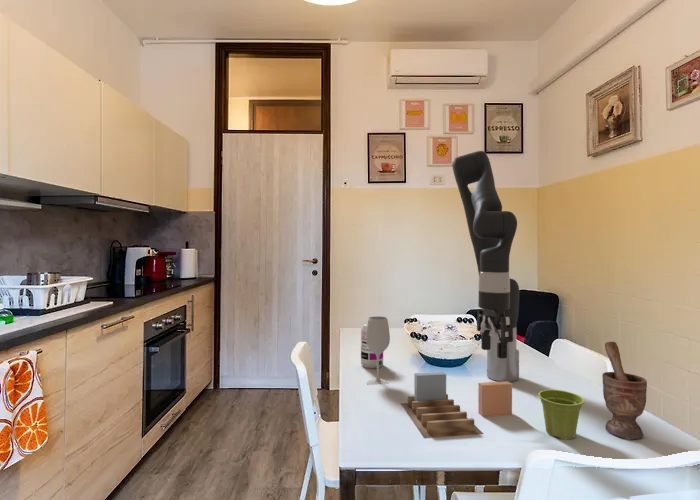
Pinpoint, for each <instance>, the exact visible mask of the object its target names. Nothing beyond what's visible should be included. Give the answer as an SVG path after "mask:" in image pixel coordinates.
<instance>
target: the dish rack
mask: <svg viewBox="0 0 700 500" xmlns="http://www.w3.org/2000/svg"><path fill="white" fill-rule="evenodd" d="M454 401H455V400H454V399H453V398H452V399H451V398H449V394H448V393H446V400H429V401H414V395H407V402H404V403H400V405H401V407H402V408H403V409H404V411H405V412H406V414H407V416H408V417H409V418H410V420H411V421H412V423H413V424H414V425H415V428H416V429H417V430H418V431H419V433H420V434H421V436H422V437H423V439H430V438H431V439H433V438H446V437H459V436H460V437H461V436H462V437H463V436H473V435H484V432H483V431H482V430H480V429H479V428H478V427H477V425H476V424H475V419H474V418H473V417H472V418H471V417H470V418H468V413H467V411H461V405H459V404H456V405H455V402H454Z"/></svg>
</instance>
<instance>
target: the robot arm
mask: <svg viewBox="0 0 700 500" xmlns="http://www.w3.org/2000/svg"><path fill="white" fill-rule="evenodd" d="M451 163H452V164H451V165H452V170H453V175H454V179H455V182H456V185H457V189H458V192H459V195H460V199H461V201H462V206H463V208H464V214H465V218H466V223H467V228H468V233H469V236H470V241H471V245H472V247H473V252H474V257H475V261H476V265H477V271H478V307H479V308H478V309H477V312H476V313H477V315H476V316H477V317H476V319H477V321H476V331H477V332H479V334H480V336H481V342H480V344H481V347H480V348H481V349H482V350H484V351H486V377H487V378H488V379H491V380H494V381H496V382H505V381H508V382H514V381H517V380H520V351H519V349H518V348H517V323H518V318H519V310H520V287H519V284H518V282H517V281H516V279H514V278H510V254H511V249H512V244H513V241H514V238H515V235H516V233H517V228H518V219H517V217H516V215H515V214H514V213H513V212H511V211H507V210H503V205H502V202H501V199H500V197H499V194H498V192H497V190H496V183H495V178H494V174H493V170H492V165H491V161H490V159H489V156H488V154H487V153H486V152H485V151H484V150H478V151H474V152H470V153H466V154H463V155H460V156H457V157H454V158H452V162H451ZM475 183H476V184H475ZM470 184H475V186H474V187H473V189H472V192H471V190H470V188H469V186H468V185H470Z"/></svg>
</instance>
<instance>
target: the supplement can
mask: <svg viewBox="0 0 700 500" xmlns="http://www.w3.org/2000/svg"><path fill="white" fill-rule="evenodd" d="M367 324H368V322H366V323H363V324H362V326H361V327H360V364H361V365H362V367H363V368H366V369H377V357H376V354H375V353H374V352H372V351H371V350H370V348H369V347H368V346H367V343H366V331H367ZM383 365H384V352H382V353H381V354H380V356H379V368H381V367H383Z"/></svg>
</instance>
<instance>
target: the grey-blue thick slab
mask: <svg viewBox="0 0 700 500" xmlns="http://www.w3.org/2000/svg"><path fill="white" fill-rule="evenodd" d="M413 376H414V380H413V381H414V401H429V400H446V394H447V373H445V372H444V371H434V372H433V371H432V372H416V373H414V375H413Z"/></svg>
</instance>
